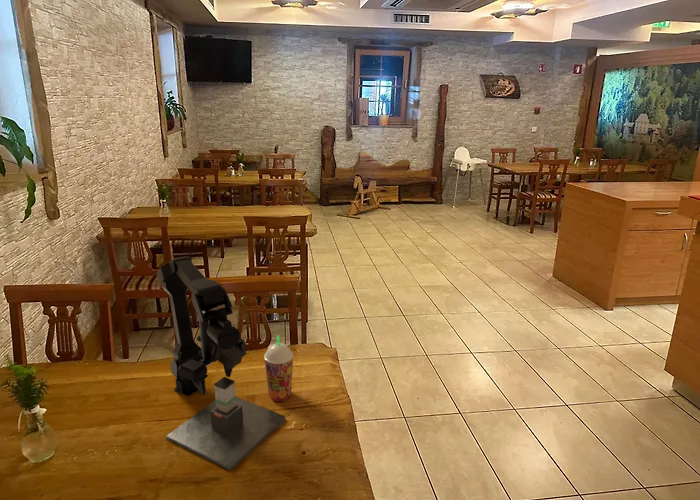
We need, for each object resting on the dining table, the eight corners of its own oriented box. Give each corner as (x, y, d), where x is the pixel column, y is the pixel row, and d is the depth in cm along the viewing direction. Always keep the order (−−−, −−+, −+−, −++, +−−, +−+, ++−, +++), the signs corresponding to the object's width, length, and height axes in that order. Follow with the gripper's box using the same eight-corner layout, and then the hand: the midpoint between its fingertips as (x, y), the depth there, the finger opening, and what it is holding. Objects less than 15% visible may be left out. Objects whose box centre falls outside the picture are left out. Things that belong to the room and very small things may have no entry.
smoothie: (260, 400, 141) (257, 339, 135) (275, 385, 148) (272, 327, 142) (285, 407, 138) (283, 345, 132) (299, 391, 145) (297, 332, 139)
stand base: (226, 395, 143) (224, 376, 141) (285, 419, 133) (285, 399, 131) (166, 439, 125) (163, 418, 123) (230, 470, 114) (228, 448, 112)
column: (226, 406, 129) (224, 376, 127) (236, 410, 128) (234, 380, 125) (216, 413, 126) (213, 383, 123) (227, 418, 125) (224, 387, 122)
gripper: (208, 358, 110) (213, 415, 115) (260, 325, 125) (262, 376, 130) (174, 345, 115) (180, 400, 120) (228, 315, 130) (231, 365, 135)
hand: (216, 385), depth 126 cm, fingers open, 9 cm apart
